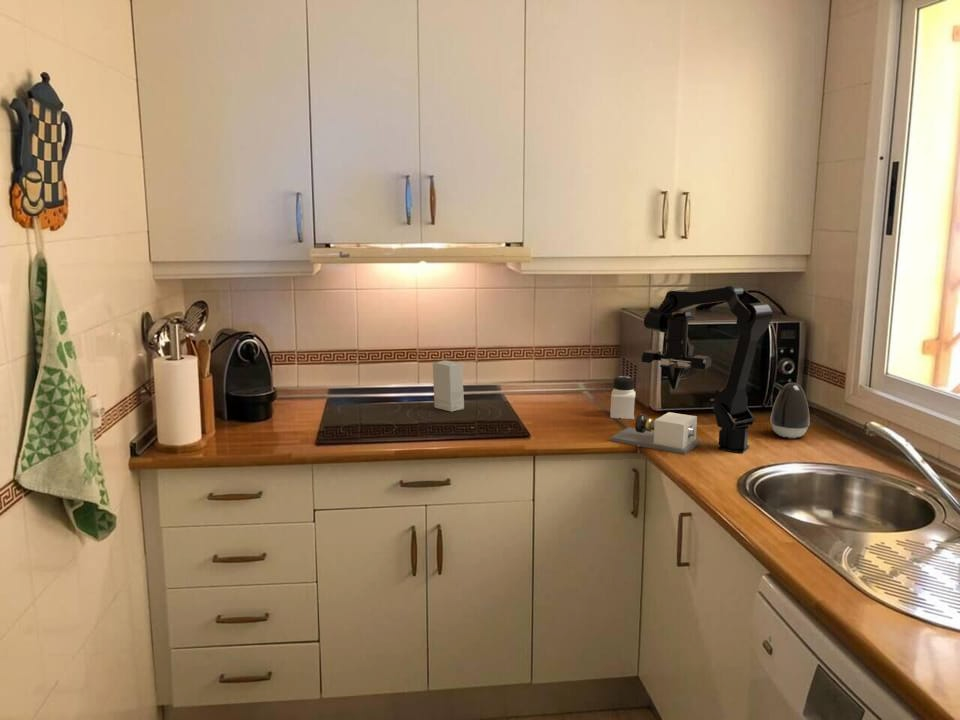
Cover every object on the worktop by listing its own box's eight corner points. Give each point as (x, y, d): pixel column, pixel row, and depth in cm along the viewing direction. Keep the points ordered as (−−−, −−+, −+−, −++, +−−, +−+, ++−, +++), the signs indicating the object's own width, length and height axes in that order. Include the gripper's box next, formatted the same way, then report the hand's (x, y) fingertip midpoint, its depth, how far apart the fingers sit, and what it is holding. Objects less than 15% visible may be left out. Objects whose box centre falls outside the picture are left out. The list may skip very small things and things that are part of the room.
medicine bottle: (634, 419, 240) (635, 380, 238) (610, 418, 242) (611, 379, 240) (634, 413, 247) (636, 375, 245) (611, 412, 249) (612, 374, 246)
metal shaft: (696, 439, 214) (697, 420, 213) (690, 443, 210) (691, 425, 209) (641, 429, 223) (642, 412, 222) (634, 434, 218) (635, 416, 218)
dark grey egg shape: (778, 428, 232) (782, 377, 229) (814, 435, 224) (819, 382, 222) (762, 435, 225) (766, 382, 222) (798, 443, 217) (803, 388, 215)
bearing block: (700, 443, 217) (701, 416, 216) (684, 454, 208) (686, 426, 206) (628, 430, 229) (629, 405, 227) (610, 440, 219) (611, 414, 218)
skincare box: (464, 409, 252) (464, 362, 249) (450, 412, 248) (450, 365, 245) (446, 404, 258) (446, 359, 255) (432, 407, 254) (432, 361, 251)
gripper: (719, 334, 226) (715, 388, 229) (656, 328, 236) (653, 379, 239) (706, 339, 217) (702, 395, 220) (641, 333, 227) (639, 386, 230)
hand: (674, 389), depth 228 cm, fingers closed
